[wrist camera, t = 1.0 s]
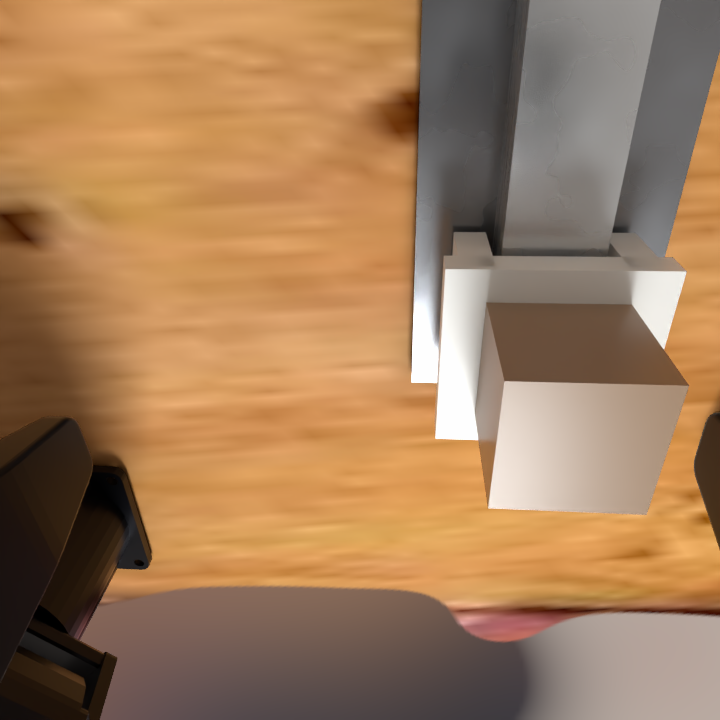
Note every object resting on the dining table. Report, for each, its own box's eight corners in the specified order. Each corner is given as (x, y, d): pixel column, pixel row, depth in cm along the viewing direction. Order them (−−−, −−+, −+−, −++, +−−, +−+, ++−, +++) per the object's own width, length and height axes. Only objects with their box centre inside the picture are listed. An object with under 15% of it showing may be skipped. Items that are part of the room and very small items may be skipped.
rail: (625, 378, 22) (648, 421, 20) (411, 373, 23) (411, 413, 20) (773, -195, 14) (841, -231, 11) (427, -178, 14) (429, -209, 12)
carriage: (609, 391, 21) (684, 543, 15) (433, 387, 22) (440, 532, 16) (648, 232, 18) (761, 347, 12) (441, 231, 19) (453, 341, 13)
